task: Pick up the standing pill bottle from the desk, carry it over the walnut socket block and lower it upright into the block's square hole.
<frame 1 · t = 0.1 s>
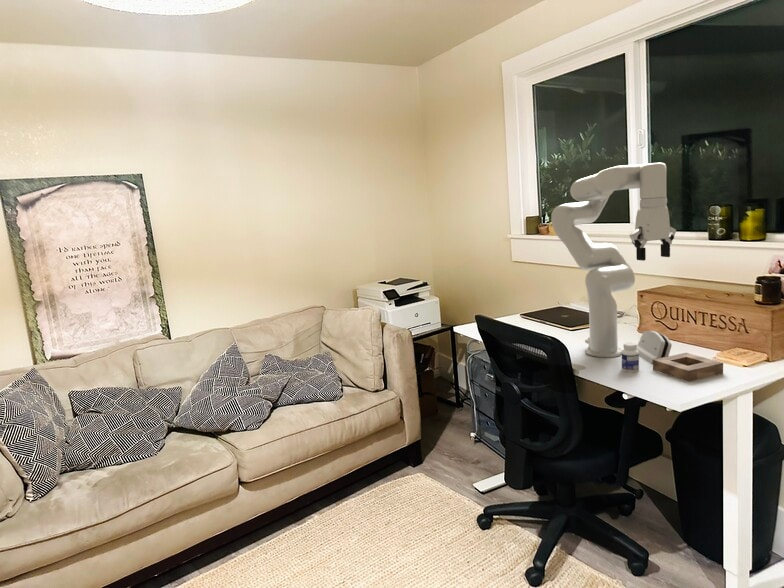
hand: (653, 258, 178), 37 cm above the table, tool pointing down, fingers open, 9 cm apart
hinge: (652, 357, 197), on the table
pill bottle: (630, 370, 185), on the table
socket block: (687, 371, 179), on the table
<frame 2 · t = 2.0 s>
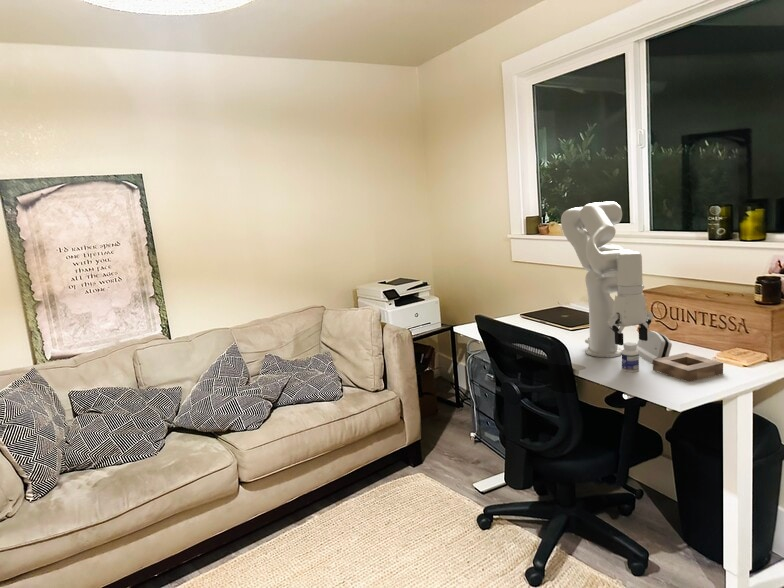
hand: (631, 342, 183), 10 cm above the table, tool pointing down, fingers open, 9 cm apart
nothing on the table moved.
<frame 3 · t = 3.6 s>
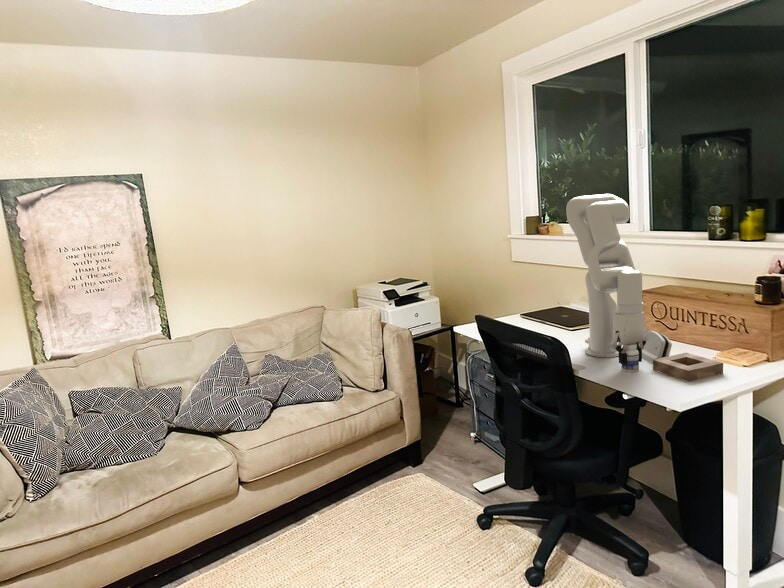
hand: (630, 361, 185), 3 cm above the table, tool pointing down, fingers closed on pill bottle, 5 cm apart
pill bottle: (630, 370, 185), on the table, touching gripper
everything else where it was.
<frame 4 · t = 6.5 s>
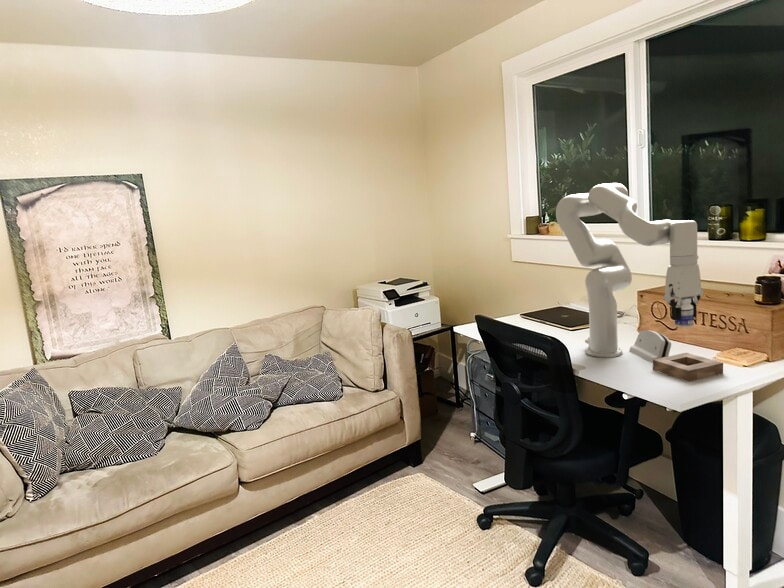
hand: (683, 317, 176), 18 cm above the table, tool pointing down, fingers closed on pill bottle, 5 cm apart
pill bottle: (684, 326, 177), point 15 cm above the table, touching gripper
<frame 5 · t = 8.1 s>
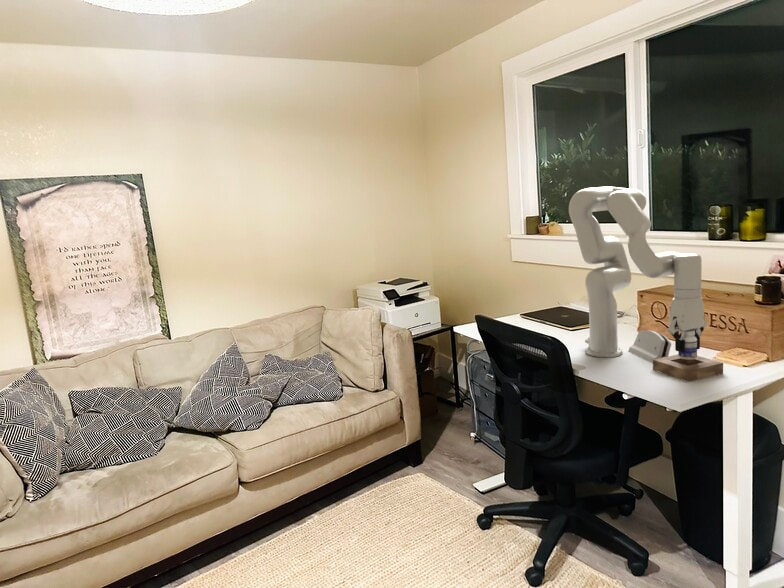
hand: (687, 349, 178), 7 cm above the table, tool pointing down, fingers closed on pill bottle, 5 cm apart
pill bottle: (687, 358, 178), point 5 cm above the table, touching gripper
when the fingers open (4 cm above the table, at t = 9.4 s): pill bottle drops 2 cm, resting in socket block.
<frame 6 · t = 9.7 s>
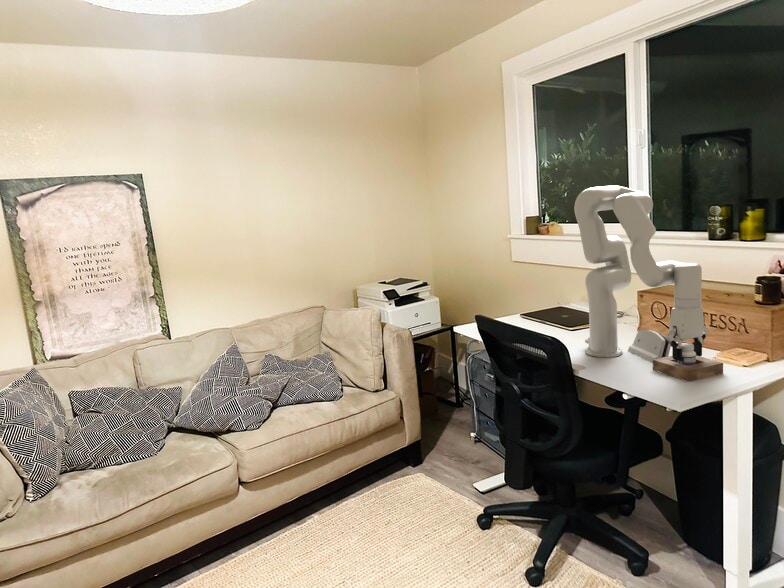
hand: (687, 357, 178), 5 cm above the table, tool pointing down, fingers open, 7 cm apart
pill bottle: (686, 372, 179), resting in socket block
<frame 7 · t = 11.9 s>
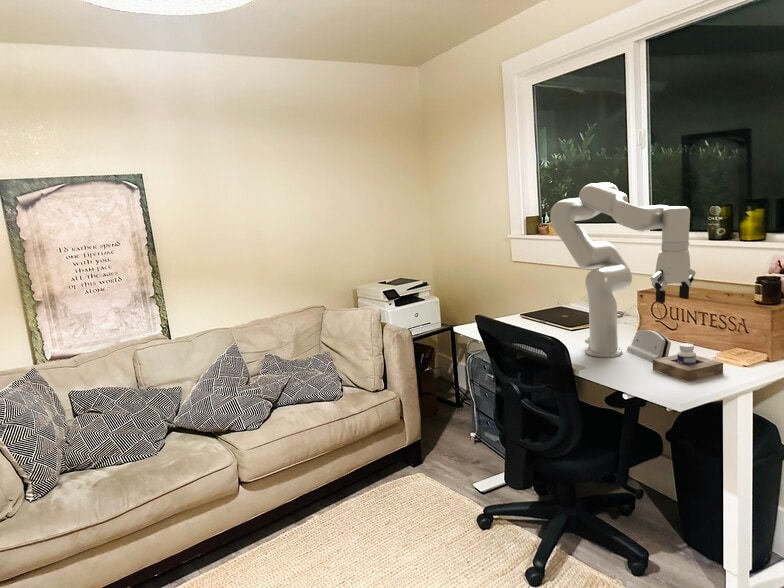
hand: (672, 300, 179), 23 cm above the table, tool pointing down, fingers open, 9 cm apart
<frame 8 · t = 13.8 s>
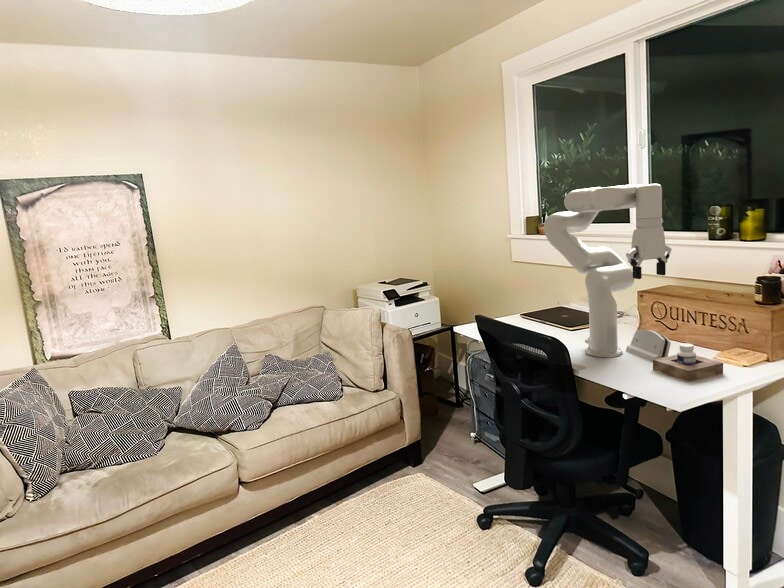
hand: (649, 276, 182), 30 cm above the table, tool pointing down, fingers open, 9 cm apart
at the end: pill bottle 0.1 cm off-centre on the socket block, point 0.0 cm above the socket block's base; pill bottle tilted 0° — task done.
